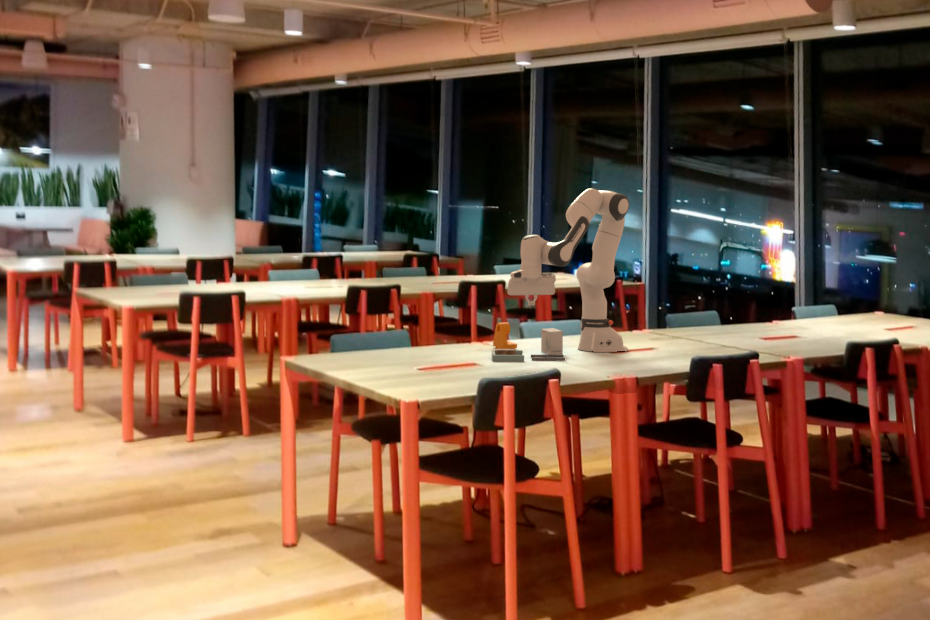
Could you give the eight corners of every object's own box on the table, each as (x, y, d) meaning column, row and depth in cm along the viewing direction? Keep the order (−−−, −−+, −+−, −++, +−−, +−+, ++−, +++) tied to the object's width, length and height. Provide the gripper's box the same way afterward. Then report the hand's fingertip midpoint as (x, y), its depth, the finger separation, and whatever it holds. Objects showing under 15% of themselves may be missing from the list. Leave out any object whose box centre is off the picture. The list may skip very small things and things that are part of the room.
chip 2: (515, 358, 437) (515, 348, 437) (515, 359, 433) (515, 350, 433) (505, 358, 437) (505, 348, 437) (506, 359, 433) (506, 350, 433)
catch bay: (522, 356, 442) (522, 350, 442) (524, 361, 428) (524, 355, 428) (491, 355, 442) (491, 350, 442) (492, 361, 428) (492, 355, 428)
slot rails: (563, 357, 439) (563, 354, 439) (565, 360, 431) (565, 357, 431) (530, 357, 439) (530, 354, 439) (532, 360, 431) (532, 357, 431)
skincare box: (540, 351, 456) (540, 328, 455) (553, 351, 458) (554, 327, 457) (549, 355, 446) (549, 331, 445) (563, 354, 448) (563, 330, 447)
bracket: (517, 350, 461) (518, 323, 459) (503, 350, 458) (503, 324, 456) (507, 346, 470) (507, 320, 469) (493, 347, 467) (493, 321, 466)
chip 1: (505, 358, 437) (505, 348, 437) (506, 359, 433) (506, 350, 433) (496, 358, 437) (496, 348, 437) (496, 359, 433) (496, 350, 433)
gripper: (554, 272, 438) (555, 304, 439) (507, 272, 438) (507, 305, 439) (556, 273, 431) (556, 306, 433) (507, 274, 431) (508, 306, 433)
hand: (531, 305), depth 436 cm, fingers closed
